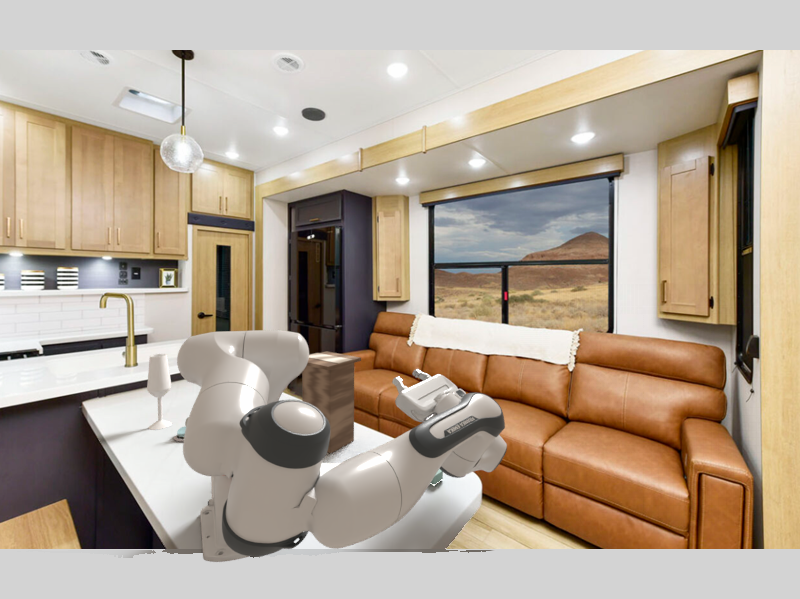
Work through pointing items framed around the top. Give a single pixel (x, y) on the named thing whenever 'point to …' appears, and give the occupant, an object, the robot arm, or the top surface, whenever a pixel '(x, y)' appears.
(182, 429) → the pacifier
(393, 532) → the top surface
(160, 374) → the champagne flute
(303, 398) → the stand
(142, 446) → the top surface
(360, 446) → the top surface
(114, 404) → the top surface
